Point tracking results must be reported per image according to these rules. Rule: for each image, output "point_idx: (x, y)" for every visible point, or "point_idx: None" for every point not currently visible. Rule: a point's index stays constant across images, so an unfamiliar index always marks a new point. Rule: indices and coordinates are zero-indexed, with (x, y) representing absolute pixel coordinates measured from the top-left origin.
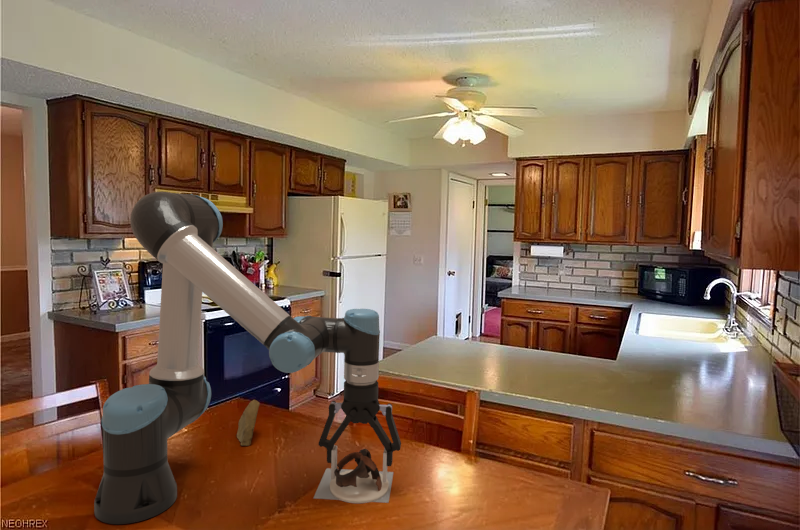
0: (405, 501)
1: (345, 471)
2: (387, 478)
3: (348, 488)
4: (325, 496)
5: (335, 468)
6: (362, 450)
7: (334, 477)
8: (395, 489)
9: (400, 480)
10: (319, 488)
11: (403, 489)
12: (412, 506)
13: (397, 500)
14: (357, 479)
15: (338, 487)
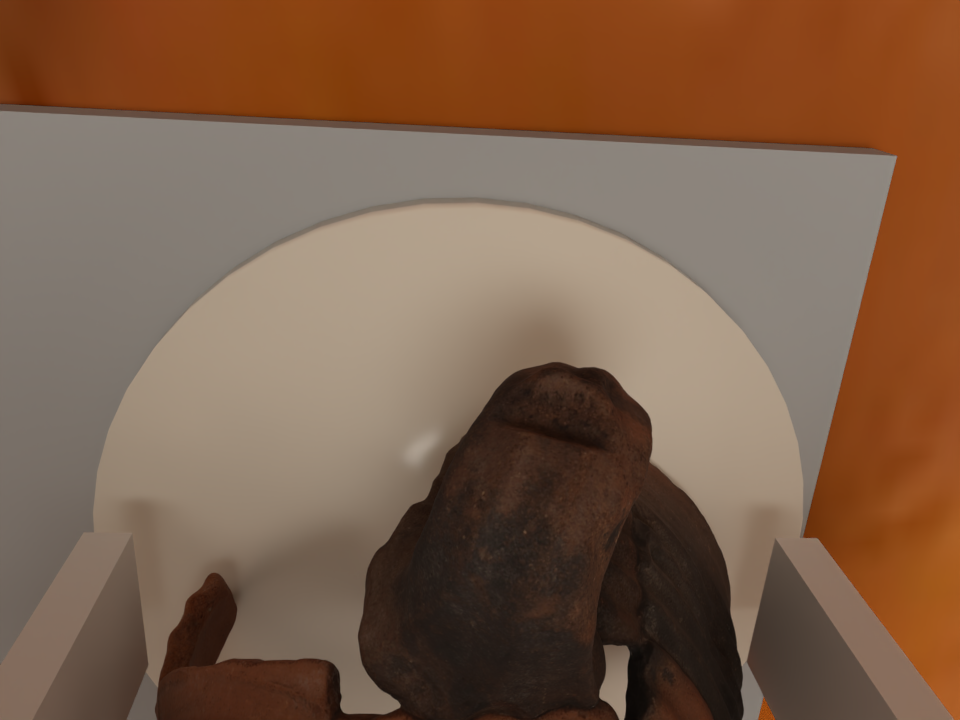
0: (904, 630)
1: (222, 293)
2: (794, 330)
3: (348, 655)
4: (131, 714)
5: (101, 714)
6: (511, 642)
7: (139, 682)
8: (845, 453)
9: (937, 265)
10: (8, 598)
11: (930, 446)
12: (948, 688)
13: None
14: (425, 477)
15: (230, 649)
